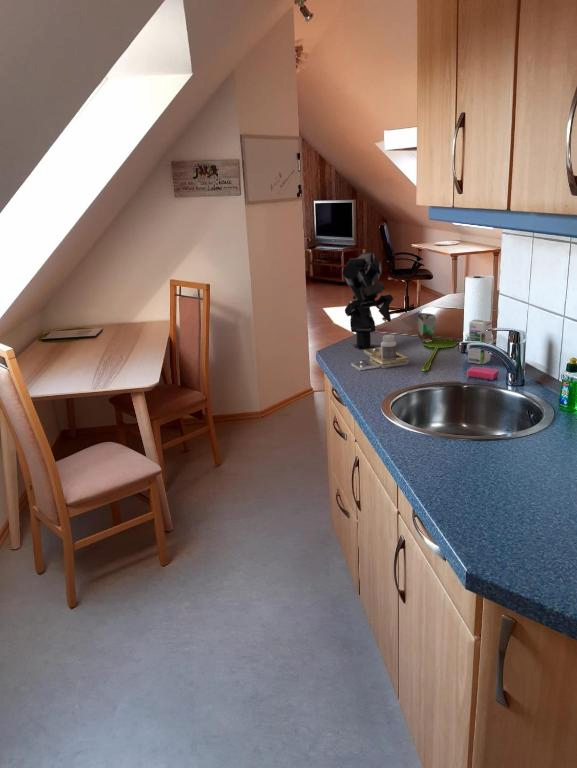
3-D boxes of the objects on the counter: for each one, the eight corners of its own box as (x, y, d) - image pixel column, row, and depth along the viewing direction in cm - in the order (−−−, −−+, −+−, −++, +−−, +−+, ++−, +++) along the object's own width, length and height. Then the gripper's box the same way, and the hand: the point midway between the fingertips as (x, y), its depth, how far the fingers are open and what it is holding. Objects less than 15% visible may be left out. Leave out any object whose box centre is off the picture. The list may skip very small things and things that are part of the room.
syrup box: (467, 362, 211) (468, 321, 206) (475, 358, 215) (476, 318, 210) (482, 365, 207) (484, 323, 202) (490, 360, 211) (492, 319, 206)
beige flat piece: (340, 359, 225) (339, 351, 224) (383, 352, 230) (383, 344, 229) (361, 371, 208) (361, 363, 207) (408, 363, 214) (408, 356, 213)
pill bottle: (399, 363, 215) (399, 336, 212) (386, 365, 213) (385, 338, 210) (391, 359, 220) (390, 333, 217) (378, 362, 218) (377, 335, 215)
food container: (439, 343, 237) (439, 318, 234) (423, 344, 237) (423, 319, 234) (432, 336, 249) (432, 312, 245) (417, 337, 249) (417, 312, 246)
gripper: (348, 278, 211) (369, 314, 205) (389, 271, 220) (410, 305, 214) (335, 298, 220) (355, 333, 214) (376, 291, 229) (396, 324, 223)
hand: (380, 323), depth 216 cm, fingers open, 9 cm apart
